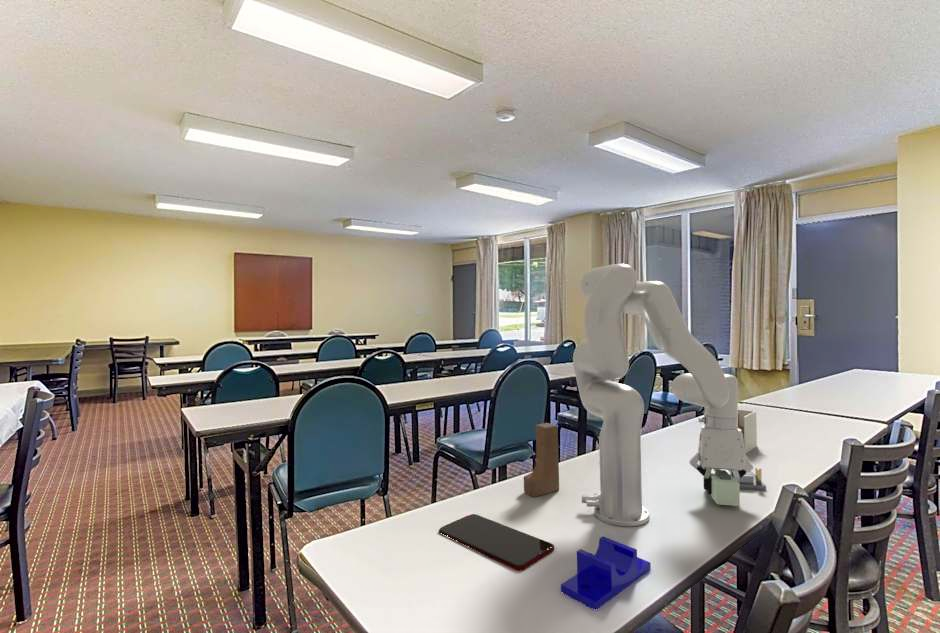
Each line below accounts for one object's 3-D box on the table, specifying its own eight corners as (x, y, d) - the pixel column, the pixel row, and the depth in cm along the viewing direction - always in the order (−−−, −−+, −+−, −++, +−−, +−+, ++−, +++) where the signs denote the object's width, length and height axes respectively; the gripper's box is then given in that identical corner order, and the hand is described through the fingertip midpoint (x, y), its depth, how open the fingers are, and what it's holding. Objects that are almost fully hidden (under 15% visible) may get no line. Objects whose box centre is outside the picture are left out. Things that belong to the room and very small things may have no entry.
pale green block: (716, 504, 117) (716, 477, 117) (703, 485, 129) (703, 461, 129) (739, 506, 116) (739, 479, 116) (724, 486, 128) (724, 462, 128)
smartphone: (473, 511, 118) (557, 543, 100) (473, 517, 118) (557, 551, 100) (435, 528, 110) (519, 567, 92) (435, 535, 110) (519, 575, 92)
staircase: (717, 449, 165) (716, 401, 165) (729, 442, 173) (728, 396, 172) (745, 454, 159) (744, 404, 159) (756, 447, 166) (755, 399, 166)
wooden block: (533, 497, 127) (531, 430, 127) (523, 492, 131) (521, 426, 131) (559, 490, 132) (558, 425, 131) (549, 485, 135) (547, 422, 135)
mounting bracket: (617, 557, 97) (616, 528, 97) (650, 571, 91) (650, 540, 91) (561, 594, 85) (560, 560, 85) (595, 613, 80) (594, 577, 80)
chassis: (716, 487, 130) (716, 468, 130) (699, 463, 150) (699, 447, 150) (766, 490, 128) (765, 470, 128) (741, 465, 147) (741, 448, 147)
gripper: (688, 424, 121) (687, 496, 121) (763, 427, 117) (763, 502, 117) (682, 417, 128) (681, 485, 128) (752, 421, 124) (752, 491, 124)
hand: (720, 492), depth 122 cm, fingers closed on pale green block, 5 cm apart
